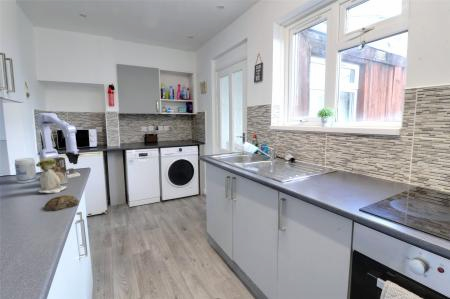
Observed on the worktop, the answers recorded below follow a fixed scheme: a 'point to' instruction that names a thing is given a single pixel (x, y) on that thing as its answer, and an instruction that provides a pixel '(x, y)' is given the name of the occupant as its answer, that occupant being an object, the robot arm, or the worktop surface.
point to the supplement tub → (25, 170)
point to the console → (72, 174)
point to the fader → (71, 170)
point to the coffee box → (60, 170)
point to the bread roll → (61, 203)
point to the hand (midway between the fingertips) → (73, 163)
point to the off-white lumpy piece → (49, 177)
